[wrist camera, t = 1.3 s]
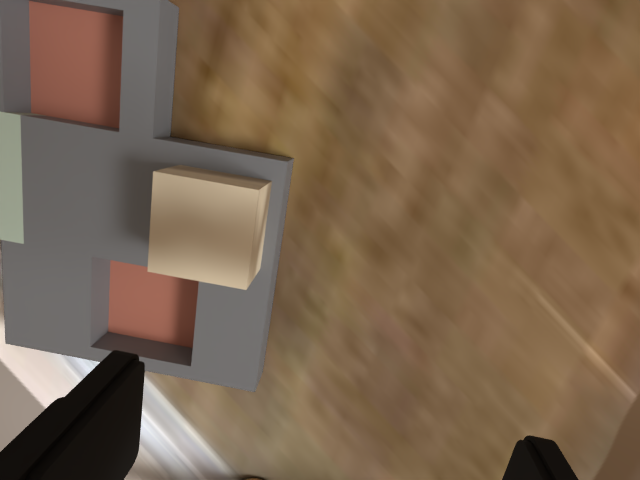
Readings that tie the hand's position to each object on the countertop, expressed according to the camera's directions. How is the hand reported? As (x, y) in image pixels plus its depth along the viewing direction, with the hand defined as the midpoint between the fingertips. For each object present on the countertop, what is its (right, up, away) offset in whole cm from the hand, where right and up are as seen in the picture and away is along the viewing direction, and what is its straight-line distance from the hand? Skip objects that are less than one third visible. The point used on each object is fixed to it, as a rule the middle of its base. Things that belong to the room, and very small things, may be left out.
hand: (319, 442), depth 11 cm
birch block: (-6, +6, +15) cm, 18 cm away
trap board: (-14, +8, +18) cm, 24 cm away
